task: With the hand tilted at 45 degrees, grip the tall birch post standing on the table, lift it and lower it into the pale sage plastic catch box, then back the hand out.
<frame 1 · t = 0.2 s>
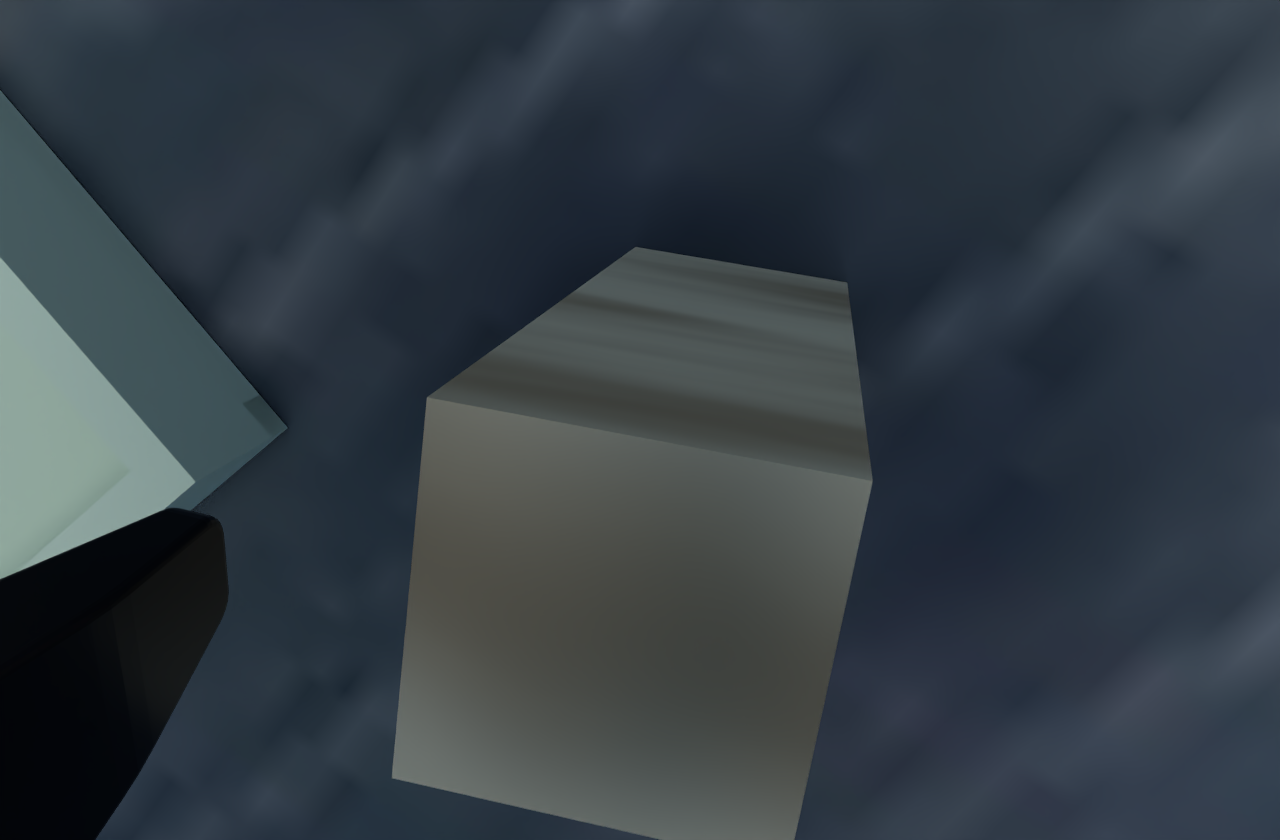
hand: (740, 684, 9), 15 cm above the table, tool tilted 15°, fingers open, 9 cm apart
birch post: (722, 367, 24), on the table
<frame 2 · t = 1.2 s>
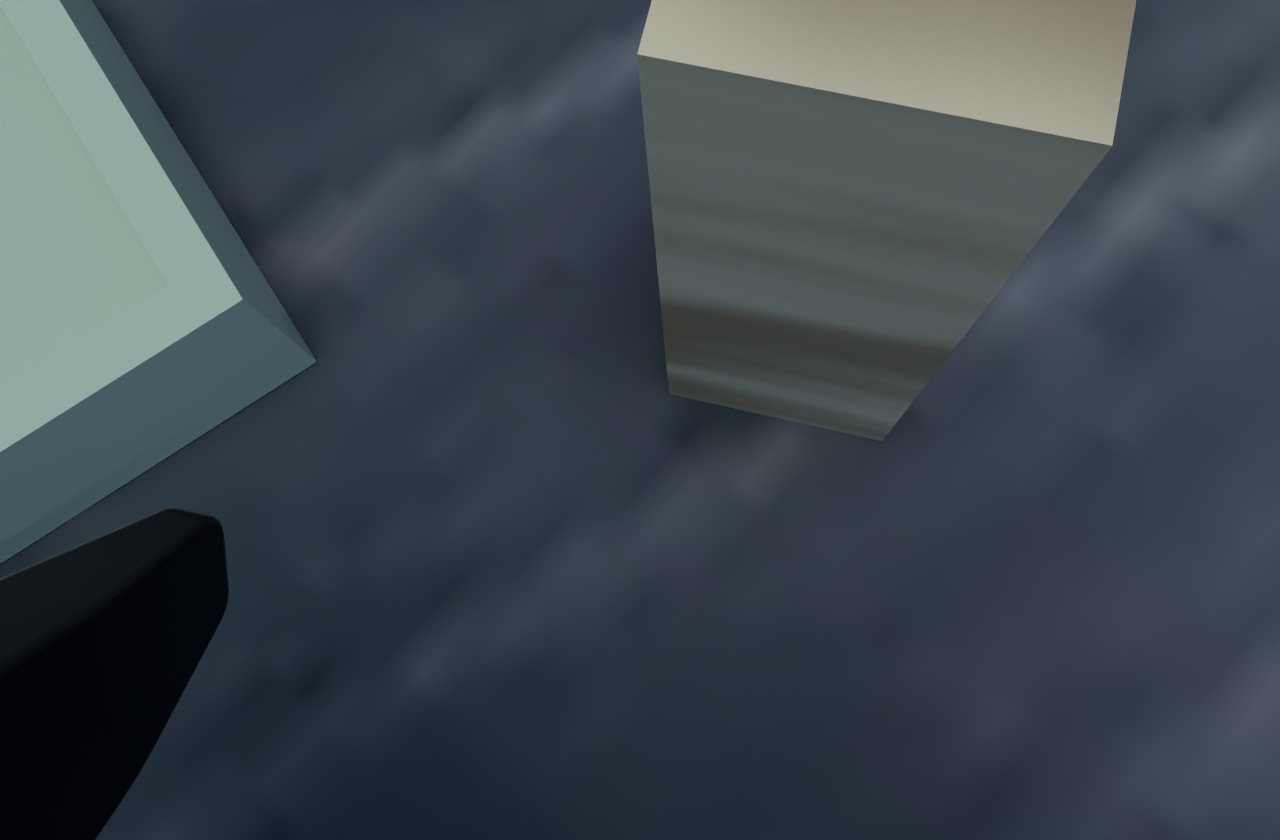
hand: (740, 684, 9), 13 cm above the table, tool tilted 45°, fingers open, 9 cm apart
birch post: (796, 316, 24), on the table
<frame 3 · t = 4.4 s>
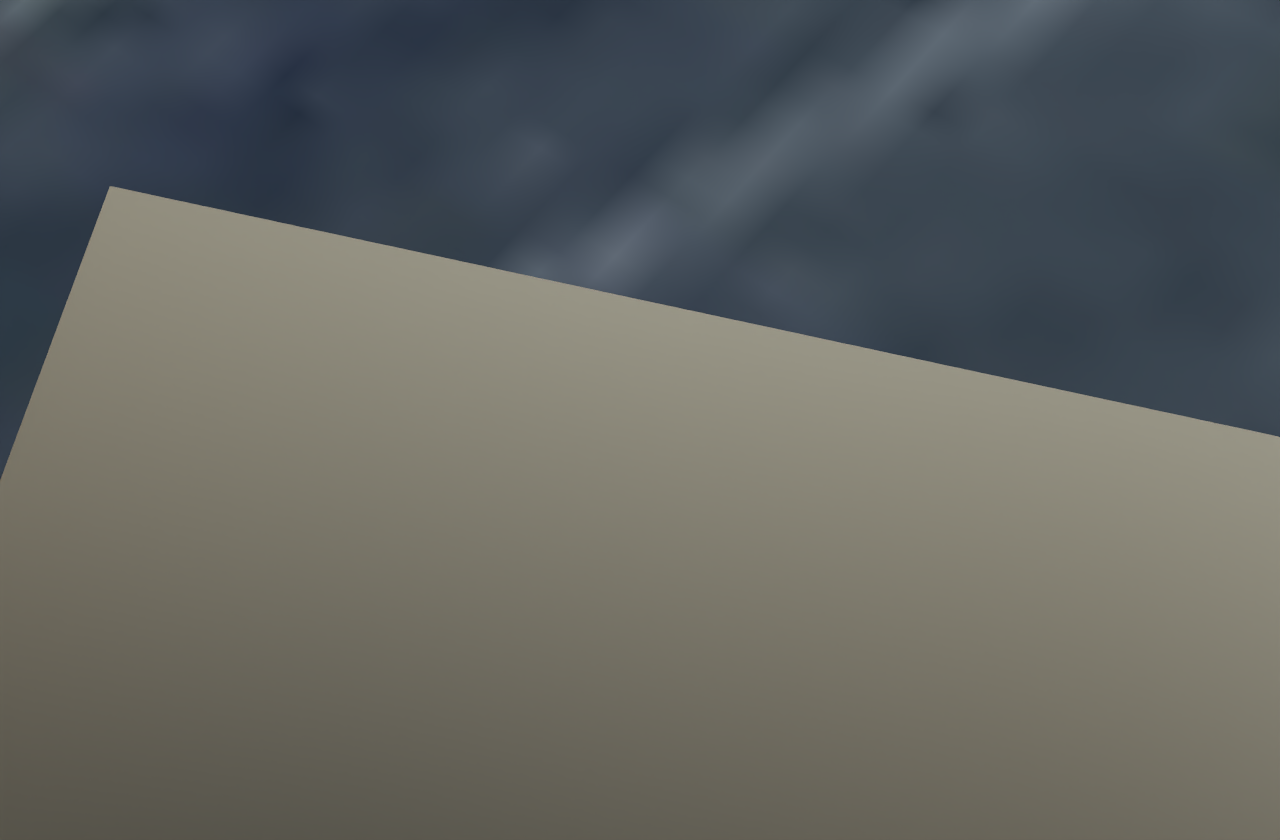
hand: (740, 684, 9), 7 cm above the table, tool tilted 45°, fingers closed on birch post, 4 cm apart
birch post: (699, 785, 15), on the table, touching gripper
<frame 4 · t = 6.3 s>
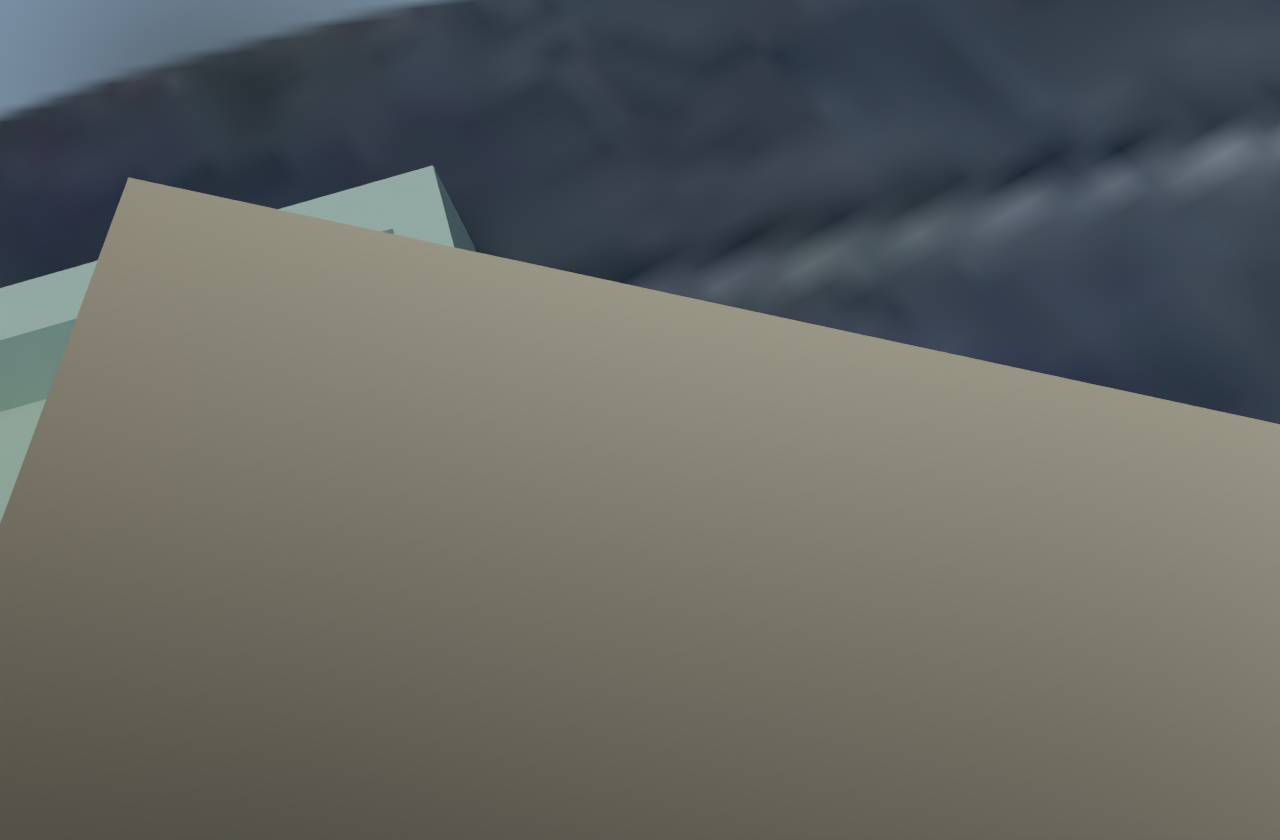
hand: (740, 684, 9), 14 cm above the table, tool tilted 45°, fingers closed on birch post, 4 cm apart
birch post: (702, 783, 15), point 7 cm above the table, touching gripper
catch box: (227, 647, 23), on the table
when the fingers open (9 cm above the table, at t = 8.5 s): birch post drops 2 cm, resting on catch box.
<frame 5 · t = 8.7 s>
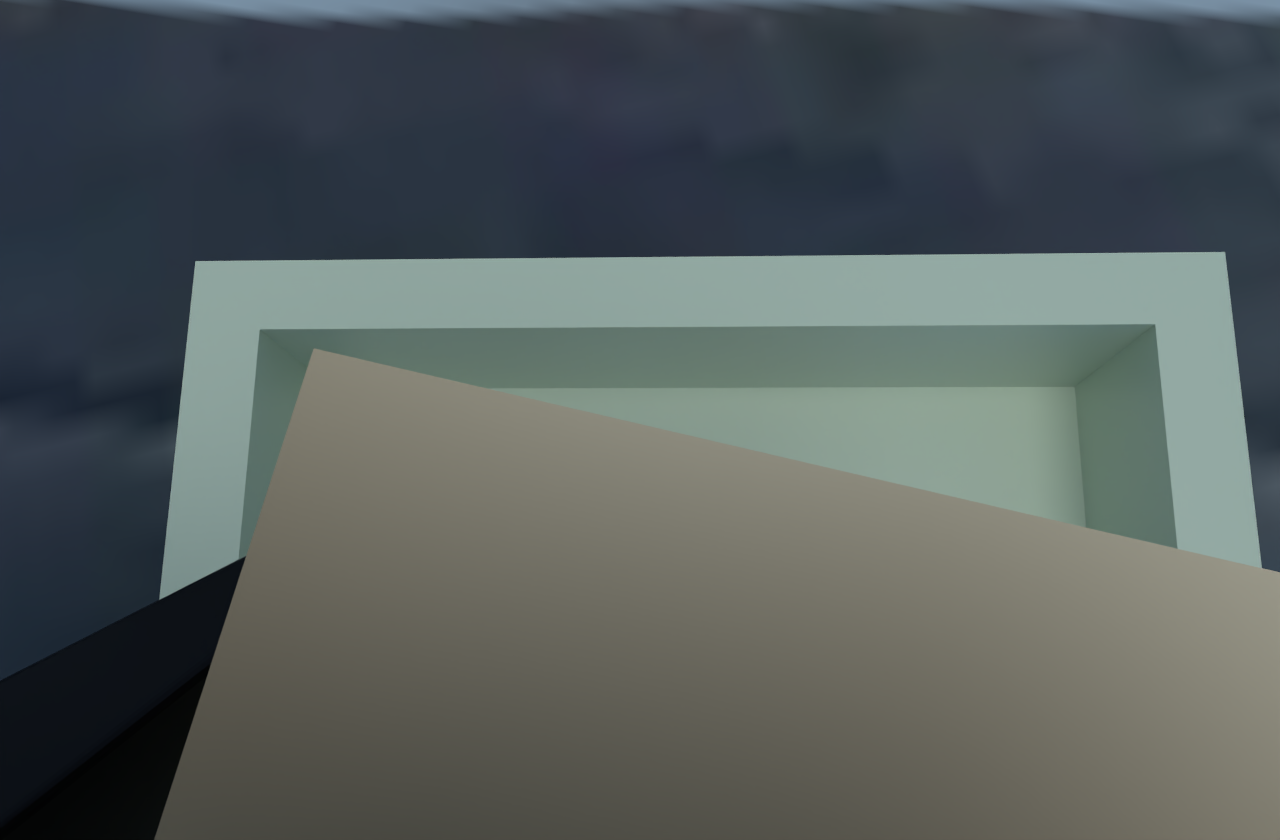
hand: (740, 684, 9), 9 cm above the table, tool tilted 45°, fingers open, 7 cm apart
birch post: (699, 772, 17), point 1 cm above the table, touching catch box
catch box: (698, 770, 17), on the table
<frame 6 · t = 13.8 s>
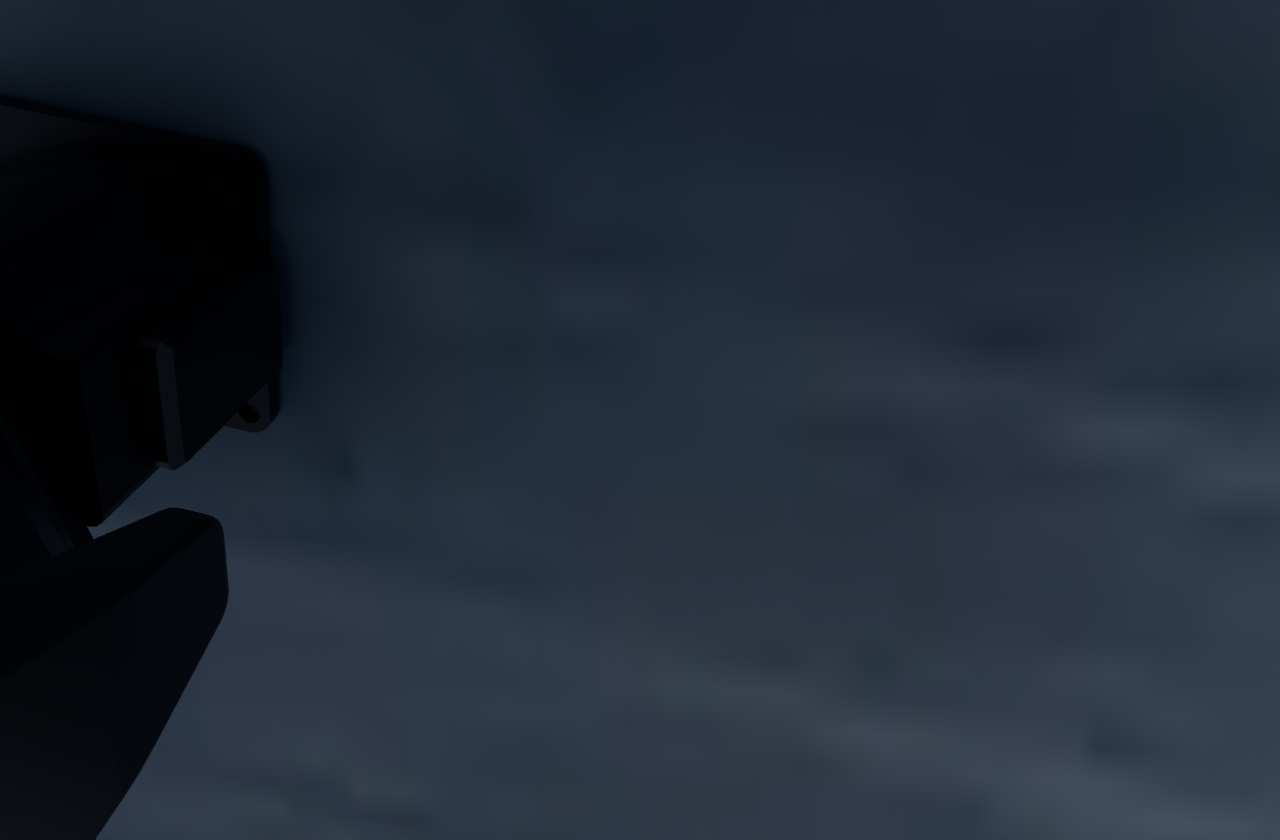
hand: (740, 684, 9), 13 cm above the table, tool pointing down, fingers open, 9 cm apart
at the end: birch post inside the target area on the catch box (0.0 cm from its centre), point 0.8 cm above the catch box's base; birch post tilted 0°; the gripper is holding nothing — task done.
